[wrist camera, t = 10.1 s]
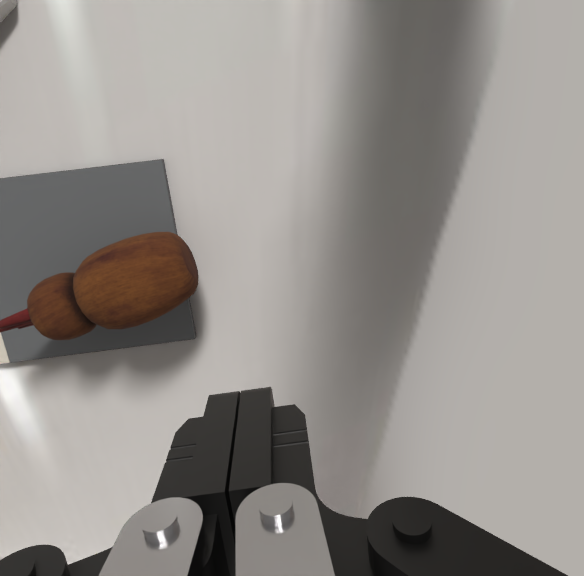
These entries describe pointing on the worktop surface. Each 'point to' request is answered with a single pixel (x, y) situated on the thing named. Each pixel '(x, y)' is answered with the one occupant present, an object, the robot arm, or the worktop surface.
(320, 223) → the worktop surface
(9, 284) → the book
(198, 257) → the worktop surface
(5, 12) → the lid
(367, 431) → the worktop surface
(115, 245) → the wooden figurine
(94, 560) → the robot arm
